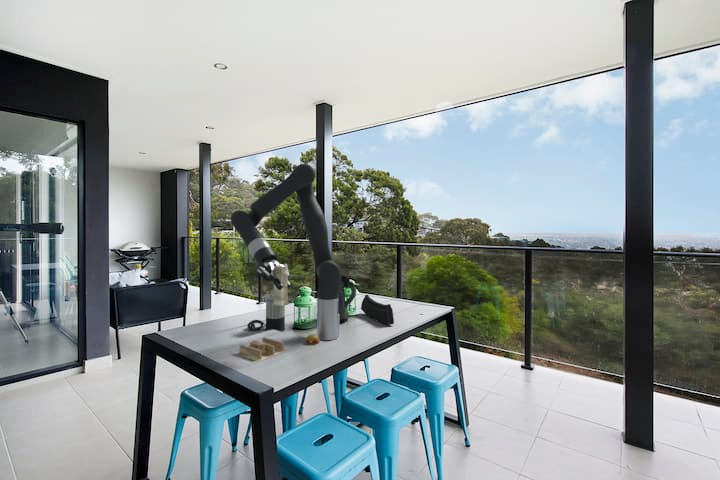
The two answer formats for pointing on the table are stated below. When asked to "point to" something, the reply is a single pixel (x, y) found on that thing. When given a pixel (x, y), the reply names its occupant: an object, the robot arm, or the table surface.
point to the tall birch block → (282, 294)
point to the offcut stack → (259, 346)
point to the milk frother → (271, 317)
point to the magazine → (377, 310)
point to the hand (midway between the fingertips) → (284, 287)
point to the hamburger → (312, 339)
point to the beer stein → (341, 301)
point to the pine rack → (256, 354)
